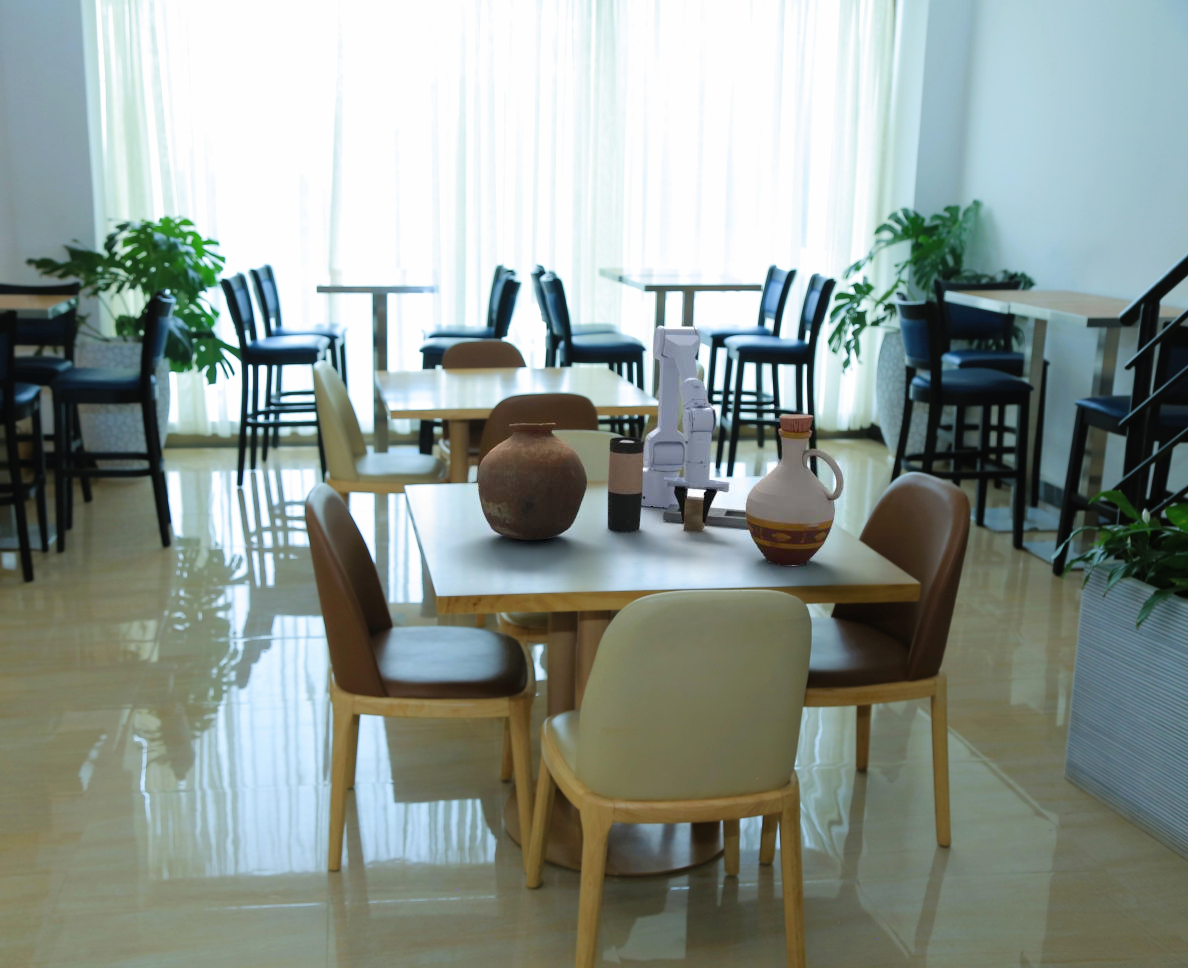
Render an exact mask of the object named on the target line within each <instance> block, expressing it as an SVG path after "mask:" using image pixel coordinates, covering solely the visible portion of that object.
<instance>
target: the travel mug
mask: <svg viewBox="0 0 1188 968" xmlns="http://www.w3.org/2000/svg"><path fill="white" fill-rule="evenodd" d="M644 445H645V441H644V440H643V441H642V440H641V438H637V437H631V436H618V437H617V436H616V437H611V438H610V440H609V452H608V453H609V456H608V474H607V475H608V478H607V529H608V530H609V529H610V530H609V531H612V532H616V531H617V533H634V532H638V531H639V530H640V525H641V515H642V514H641V513H642V506H641V503H642V486H643V468H644V458H643V454H644Z"/></svg>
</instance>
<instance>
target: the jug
mask: <svg viewBox="0 0 1188 968" xmlns="http://www.w3.org/2000/svg"><path fill="white" fill-rule="evenodd" d="M813 420H814V415H812V414H784V415H779V424H780V427H781V428H778V435H779V436H780V440H781V461H780V462H779V463H778V464H777V466H775V467H774V468H773V469H772V470H771V471H770V472H769V473H767V474H766V475H765V476H763V477H762V478H761V479H760V480H759V481H758V482H757V483H755V484H754V486H753V487H752V488H751V490H750V491H749V493H748V495H747V498H746V501H745V510H746V518H747V523H748V528H747V529H748V530H749V533H750V537H751V539H752V540H753V542H754V543H755V546H756V547H757V549H758V550H759V551H760V552H761V554H762V555H763V557H764V559H766V561H767V562H768V561H769V563H770V562H771V564H773V563H774V565H776V564H779V565H778V566H782V565H800V566H803V565H802V564H804V565H806V564H807V563H808V562H809V561H810V560H811V559H812V558H813V557H814V556H815V555H816V554H817V553H818V552H819V550H820V549H821V548H822V546H824V544H825V542H826V541H827V538H828V536H829V535H830V532H831V529H832V526H833V523H834V521H835V515H836V514H835V513H836V507H835V506H836V505H835V501H836V500H837V499H839V498H840V497H841V495H842V493H843V491H844V483H845V481H844V475H843V472H842V470H841V468H840V466H839V464H838V463H837V461H836V460H835V459H834V458H833V457H832V456H831V455H829V454H828V453H827V452H825V451H823V450H821V449H817V448H810V449H807V446H808V442H809V440H810V438H811V437H812V433H813V431H812V430H811V426H812V423H813ZM810 457H818V458H820V459H822V460H823V461H824V462H825V463H826V465H828V466H829V468H830V469H831V470H832V472H833V474H834V477H835V481H836V482H835V483H836V484H835V485H836V486H835V489H834V492H832V493H831V492H830V490H829V489H828V487H827V486H825V484H824V483H822V481H821V480H820V479H819V478H818V477H817V476H816V475H815V474H814V473H813V471H812V470H811V469H810V468H809V466H808V461H809V460H808V459H809V458H810ZM805 563H806V564H805Z"/></svg>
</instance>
